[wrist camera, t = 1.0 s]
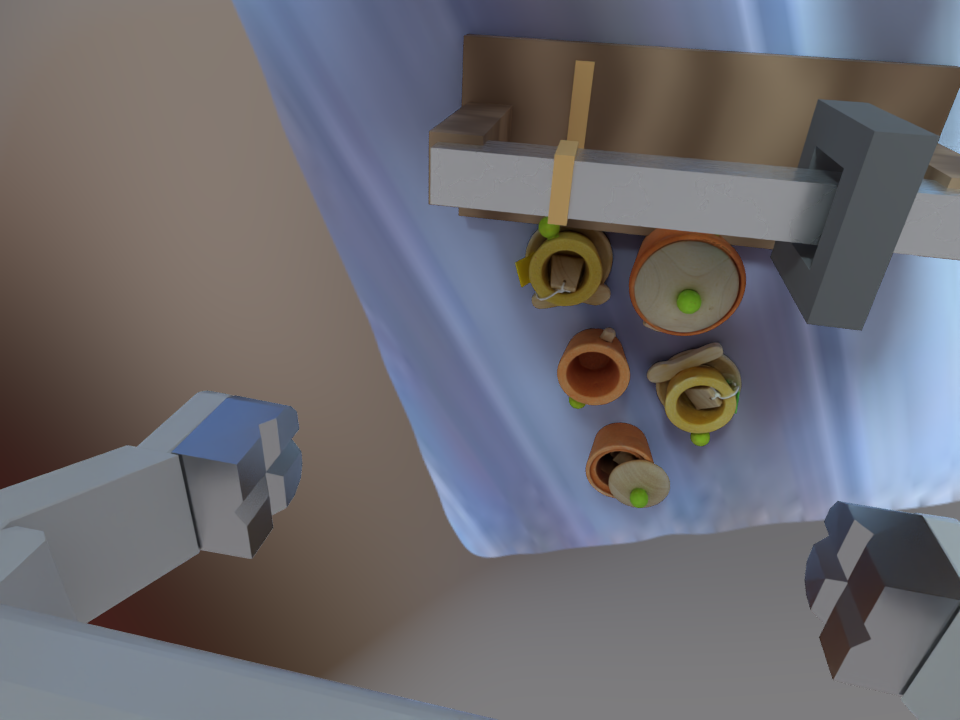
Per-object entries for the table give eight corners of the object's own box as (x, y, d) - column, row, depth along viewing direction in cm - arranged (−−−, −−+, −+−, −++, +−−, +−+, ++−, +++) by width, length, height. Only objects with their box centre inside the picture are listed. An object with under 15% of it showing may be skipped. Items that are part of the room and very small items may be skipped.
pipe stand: (462, 209, 48) (411, 279, 37) (468, 34, 42) (409, 51, 31) (881, 253, 44) (974, 349, 33) (955, 66, 38) (1102, 100, 26)
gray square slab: (770, 257, 38) (806, 323, 31) (818, 99, 34) (874, 131, 26) (813, 262, 38) (861, 330, 30) (867, 102, 33) (940, 136, 26)
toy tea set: (507, 215, 48) (484, 261, 40) (720, 162, 44) (743, 202, 35) (584, 477, 60) (578, 554, 52) (760, 457, 55) (784, 539, 47)
